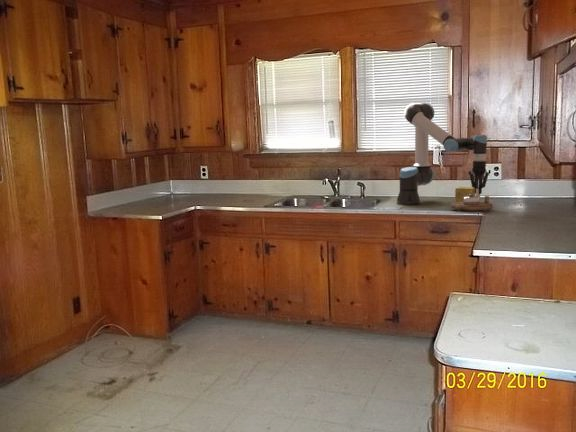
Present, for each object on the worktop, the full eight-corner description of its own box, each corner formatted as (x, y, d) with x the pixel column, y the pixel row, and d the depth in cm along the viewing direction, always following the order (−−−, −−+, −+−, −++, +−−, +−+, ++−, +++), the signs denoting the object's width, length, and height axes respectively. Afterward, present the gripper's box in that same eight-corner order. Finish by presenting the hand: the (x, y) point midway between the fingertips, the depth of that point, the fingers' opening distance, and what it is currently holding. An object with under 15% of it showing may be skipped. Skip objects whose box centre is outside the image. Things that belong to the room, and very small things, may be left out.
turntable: (442, 205, 339) (442, 196, 338) (475, 202, 347) (475, 193, 346) (467, 211, 317) (467, 202, 316) (501, 208, 324) (502, 198, 323)
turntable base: (455, 210, 332) (455, 207, 332) (466, 207, 342) (466, 204, 341) (476, 212, 322) (477, 209, 322) (487, 209, 332) (488, 206, 331)
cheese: (470, 204, 353) (471, 188, 351) (454, 203, 359) (454, 188, 357) (475, 201, 362) (475, 186, 360) (458, 201, 368) (459, 186, 366)
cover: (460, 203, 335) (460, 193, 333) (473, 202, 337) (473, 192, 336) (469, 205, 326) (469, 195, 325) (482, 204, 329) (482, 194, 327)
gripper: (466, 160, 337) (465, 198, 341) (486, 161, 327) (485, 200, 332) (472, 159, 342) (470, 197, 346) (492, 160, 333) (490, 199, 337)
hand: (477, 198), depth 339 cm, fingers closed
